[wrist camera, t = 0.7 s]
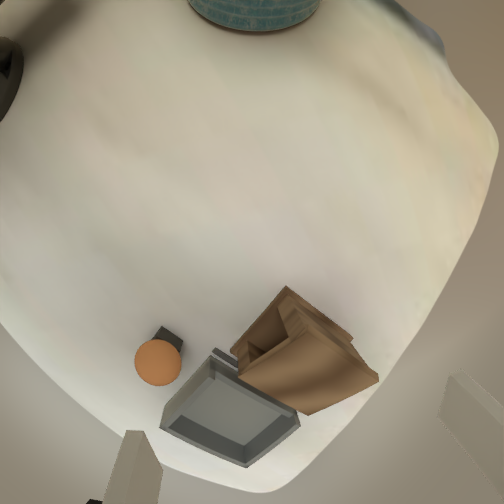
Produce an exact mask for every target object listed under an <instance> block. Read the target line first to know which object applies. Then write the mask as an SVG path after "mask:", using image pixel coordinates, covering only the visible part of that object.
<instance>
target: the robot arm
mask: <svg viewBox="0 0 504 504" xmlns="http://www.w3.org/2000/svg"><path fill="white" fill-rule="evenodd" d="M4 1H5V0H0V5H1V4H2V3H3V2H4ZM22 70H23V54H22V50H21V48H20V46H19V45H18V44H17V43H16V42H14V41H12V40H10V39H9V38H6V37H2V36H0V120H1V119H2V118H3V116H4V115H5V113H6V112H7V110H8V108H9V107H10V105H11V103H12V101H13V99H14V97H15V94H16V92H17V89H18V86H19V83H20V80H21V76H22ZM437 418H438V419H439V420H440V421H441V422H442V423H443V425H444V426H445V427H446V429H447V430H448V431H449V432H450V434H451V435H452V436H453V437H454V438H455V440H456V441H457V442H458V443H459V445H460V446H461V447H462V448H463V450H464V451H465V452H466V453H467V455H468V456H469V457H470V458H471V460H472V461H473V462H474V464H475V465H476V466H477V467H478V469H479V470H480V471H481V473H482V474H483V475H484V476H485V478H486V479H487V480H488V482H489V483H490V484H491V486H492V487H493V488H494V489H495V491H496V492H497V493H498V495H499V496H500V497H501V499H502V500H503V501H504V407H503V406H502V405H501V404H500V403H499V402H497V401H496V400H495V399H494V398H493V397H492V396H491V395H490V394H489V393H488V392H487V391H485V390H484V389H483V388H482V387H481V386H480V385H479V384H478V383H477V382H475V381H474V380H473V379H472V378H471V377H470V376H469V375H468V374H466V373H465V372H464V371H463V370H462V369H460V370H457V371H455V372H453V373H451V374H449V377H448V381H447V385H446V388H445V392H444V396H443V399H442V403H441V406H440V409H439V412H438V415H437ZM162 474H163V469H162V467H161V465H160V463H159V461H158V459H157V457H156V455H155V453H154V451H153V449H152V447H151V445H150V443H149V441H148V439H147V437H146V435H145V433H144V431H131V430H126V433H125V436H124V439H123V442H122V445H121V447H120V451H119V453H118V456H117V459H116V462H115V465H114V468H113V471H112V474H111V477H110V480H109V483H108V486H107V489H106V493H105V496H104V499H103V501H98V500H93V499H90V500H89V501H88V502H87V503H86V504H157V503H158V497H159V491H160V486H161V480H162Z"/></svg>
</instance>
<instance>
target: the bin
mask: <svg viewBox="0 0 504 504" xmlns="http://www.w3.org/2000/svg"><path fill="white" fill-rule="evenodd" d="M238 375H239V373H238V372H237V371H235V370H233V369H232V368H230V367H228V366H227V365H225V364H224V363H222V362H220V361H219V360H217V359H216V358H214V357H213V356H210V357H209V358H208V359H207V360H206V361H205V362H204V363H203V364H202V366H201V367H200V368H199V369H198V370H197V371H196V372H195V373H194V374H193V376H192V377H191V378H190V379H189V380H188V381H187V382H186V383H185V384H184V385H183V387H182V388H181V389H180V390H179V391H178V392H177V393H176V394H175V395H174V396H173V397H172V399H171V400H170V401H169V402H168V403H167V404H166V405H165V407H164V411H163V415H162V419H161V423H160V427H159V428H161V429H162V430H164V431H166V432H168V433H170V434H172V435H174V436H175V437H177V438H179V439H181V440H183V441H185V442H187V443H189V444H191V445H193V446H195V447H198V448H200V449H202V450H204V451H206V452H208V453H211V454H213V455H215V456H217V457H220V458H222V459H224V460H227V461H229V462H231V463H234V464H236V465H239V466H241V467H244V468H248V467H249V466H251V465H252V464H253V463H255V462H256V461H257V460H259V459H260V458H261V457H263V456H264V455H265V454H267V453H268V452H269V451H271V450H272V449H273V448H275V447H276V446H277V445H278V444H280V443H281V442H282V441H283V440H285V439H286V438H287V437H288V436H290V435H291V434H292V433H293V432H294V431H296V430H297V429H298V428H299V427H300V426H301V425H300V421H299V418H298V415H297V411H296V410H295V409H294V408H292V407H290V406H288V405H286V404H284V403H282V402H280V401H278V400H277V399H275V398H273V397H271V396H269V395H267V394H266V393H264V392H262V391H260V390H258V389H257V388H255V387H253V386H251V385H250V384H248V383H246V382H245V381H243V380H241V379H239V378H238Z"/></svg>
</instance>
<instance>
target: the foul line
mask: <svg viewBox="0 0 504 504" xmlns="http://www.w3.org/2000/svg"><path fill="white" fill-rule="evenodd" d="M212 352H213V353H214V354H216V355H217V356H219V357H220V358H222V359H224V360H225V361H227V362H228V363H230V364H232V365H233V366H235V367H236V368H238V362H237V361H236V360H234V359H233V358H231V357H230V356H228V355H226V354H225V353H223V352H222V351H220V350H219V349H217V348H216V347H215V349H214V350H213V351H212Z"/></svg>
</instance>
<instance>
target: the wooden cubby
mask: <svg viewBox="0 0 504 504" xmlns="http://www.w3.org/2000/svg"><path fill="white" fill-rule="evenodd" d="M352 340H353V337H352V336H351V335H350V334H349V333H347V332H346V331H345V330H343V329H342V328H341V327H339V326H338V325H337V324H336V323H334V322H333V321H332V320H330V319H329V318H328V317H326V316H325V315H324V314H322V313H321V312H320V311H318V310H317V309H316V308H315V307H313V306H312V305H311V304H309V303H308V302H307V301H305V300H304V299H303V298H301V297H300V296H299V295H298V294H296V293H295V292H294V291H292V290H291V289H290V288H288V287H287V286H285V287H284V288H283V289H282V291H281V292H280V293H279V294H278V295H277V296H276V298H275V299H274V300H273V301H272V302H271V303H270V305H269V306H268V307H267V308H266V309H265V310H264V312H263V313H262V314H261V315H260V316H259V317H258V318H257V320H256V321H255V322H254V323H253V324H252V325H251V326H250V328H249V329H248V330H247V331H246V332H245V333H244V334H243V335H242V337H241V338H240V339H239V340H238V341H237V342H236V343H235V344H234V346H233V347H232V348H231V349H230V353H231V354H233V355H235V356H236V357H238V371H239V375H238V378H239V379H241V380H243V381H245V382H246V383H248V384H250V385H251V386H253V387H255V388H257V389H258V390H260V391H262V392H264V393H266V394H267V395H269V396H271V397H273V398H275V399H277V400H278V401H280V402H282V403H284V404H286V405H288V406H290V407H292V408H294V409H295V410H297V411H299V412H301V413H303V414H305V415H307V416H309V415H311V414H314V413H316V412H318V411H320V410H323V409H325V408H327V407H329V406H331V405H334V404H336V403H338V402H340V401H342V400H344V399H346V398H348V397H350V396H352V395H354V394H356V393H358V392H360V391H362V390H364V389H366V388H368V387H370V386H372V385H374V384H375V383H377V382H379V377H378V373H376V372H375V371H373V370H372V369H371V368H369V367H368V366H367V364H366V363H365V361H364V360H363V359H362V357H361V356H360V355H359V353H358V352H357V351H356V349H355V348H354V347H353V345H352V344H351V343H350V342H351V341H352Z"/></svg>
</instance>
